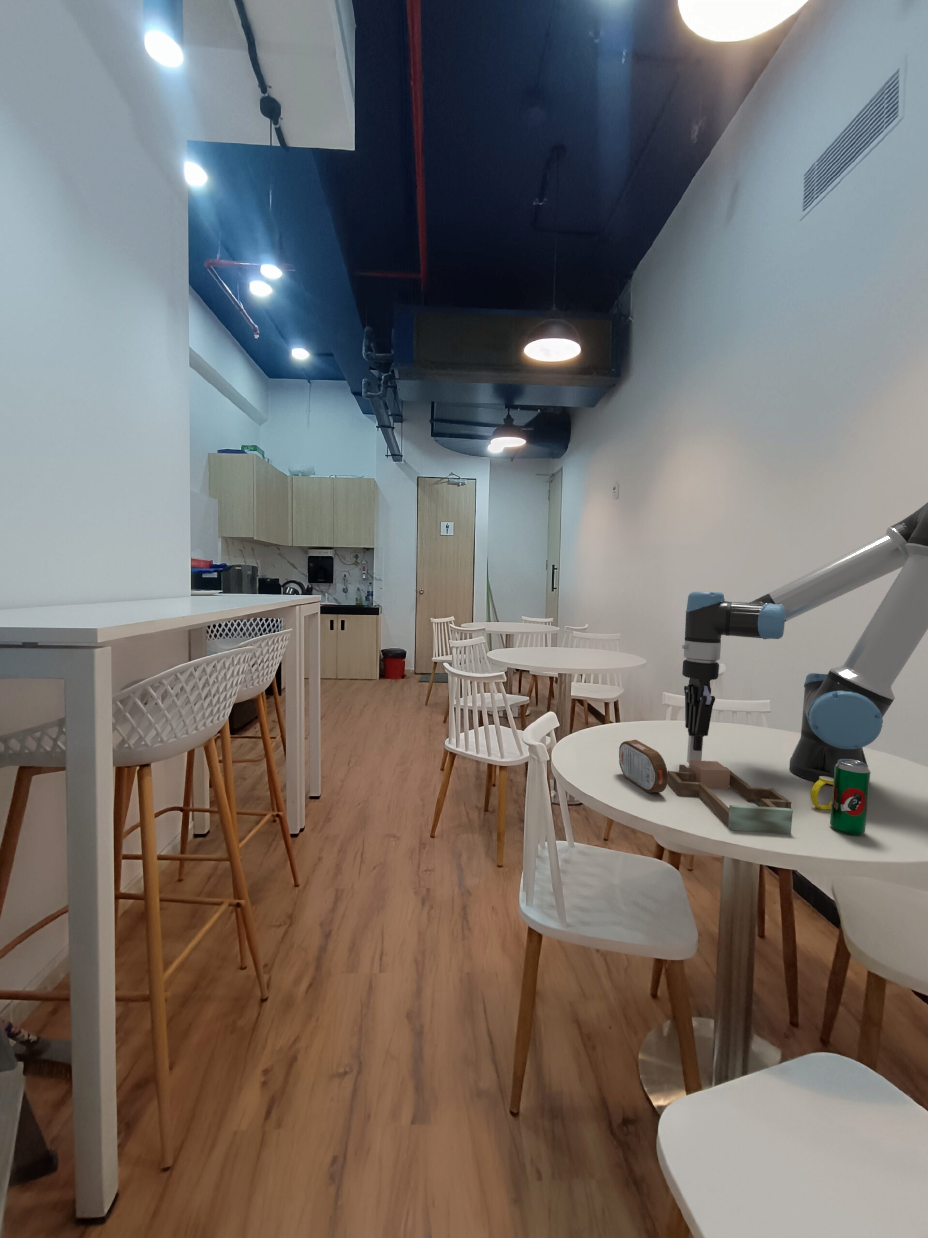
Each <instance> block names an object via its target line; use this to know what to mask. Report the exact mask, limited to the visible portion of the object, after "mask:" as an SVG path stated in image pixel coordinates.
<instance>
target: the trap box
mask: <svg viewBox="0 0 928 1238" xmlns="http://www.w3.org/2000/svg"><path fill="white" fill-rule="evenodd" d="M725 767H726V768H727V769H729V768H728V767H727V766H725ZM729 770H730V769H729ZM667 772H668V782H667V785H668V786H669V787H670V788H671V789H672V790H673V792H675V794H677V796H684V797H686V796H687V797H699V798H700V800H701V801H703V803H704V804H705V805H706V806H707V808H709V809H710V810H711V811H712V812H713V813H714V814H715V816H716V817H718V819H720V821H721V822H722V823H723V824H724V825H725V826H726V827H727V828H728V829H729V830H730V831H739V832H740V831H742V832H756V833H757V832H759V833H761V832H762V833H774V834H787V835H789V834H790V835H791V834H792V827H793V826H792V823H793V811H794V810H793V809H792V802H791V801H790V800H789V799H788V798H786V797H785V796H784V795H782V794H781V793H780V792H778V791H777V790H775V789H774V788H773V787H772V788H769V787H755V786H751V785H749V784H748V783H747V782H746V781H744V780H743V778H741V777H740V776H738V775H737V774H735V772H733V771H732V770H730V782H729V787H730V788H731V789H732V790H734V791H735V792H736V793H737V794H739V796H741V797H742V798H743V799H744V800H745V801H747V802H751V803H754V804H755V805H744V804H743V805H739V804H729V806H728V805H727V804H726V803H725V802H724V801H722V799H720V798H719V796H717V794H715V793H714V792H713V791H712V790H711V788H708V787H707V786H706V785H705V784H704V783H701V782H693V779H694V774H693V773H692V772H691V771H690V770H689V767H687V766H686V765H685V764H678V771H672V770H667Z"/></svg>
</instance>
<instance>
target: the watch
mask: <svg viewBox="0 0 928 1238" xmlns="http://www.w3.org/2000/svg"><path fill="white" fill-rule="evenodd" d="M833 781H834V778H831V777H826V776H820V777H819V780H818V781H817V782H815V783H814V784H813V786H812V787H811V790H810V795H809V796H810V801H811V804H812V805H813V806H814V807H816V808H817V809H819V810H820V811H821V810H822V811H825V810H831V804H832V800H831V801H830V802H828V804H823V805H822V804H821V805H820V804H819V800H818V797H819V792H820V791H821V789H822V787H824V785H829V784H833ZM826 783H827V784H826Z"/></svg>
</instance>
